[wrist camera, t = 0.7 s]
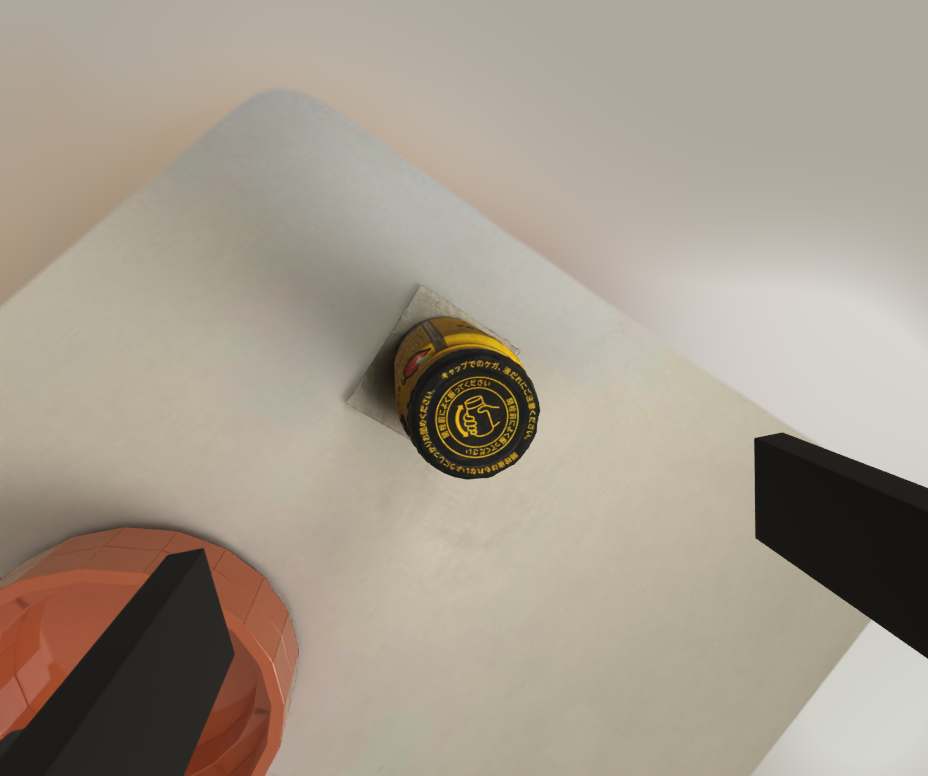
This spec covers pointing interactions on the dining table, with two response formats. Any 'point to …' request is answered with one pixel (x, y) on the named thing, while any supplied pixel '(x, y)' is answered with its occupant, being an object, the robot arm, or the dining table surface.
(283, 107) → the dining table surface
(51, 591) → the bowl
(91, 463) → the dining table surface
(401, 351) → the condiment
